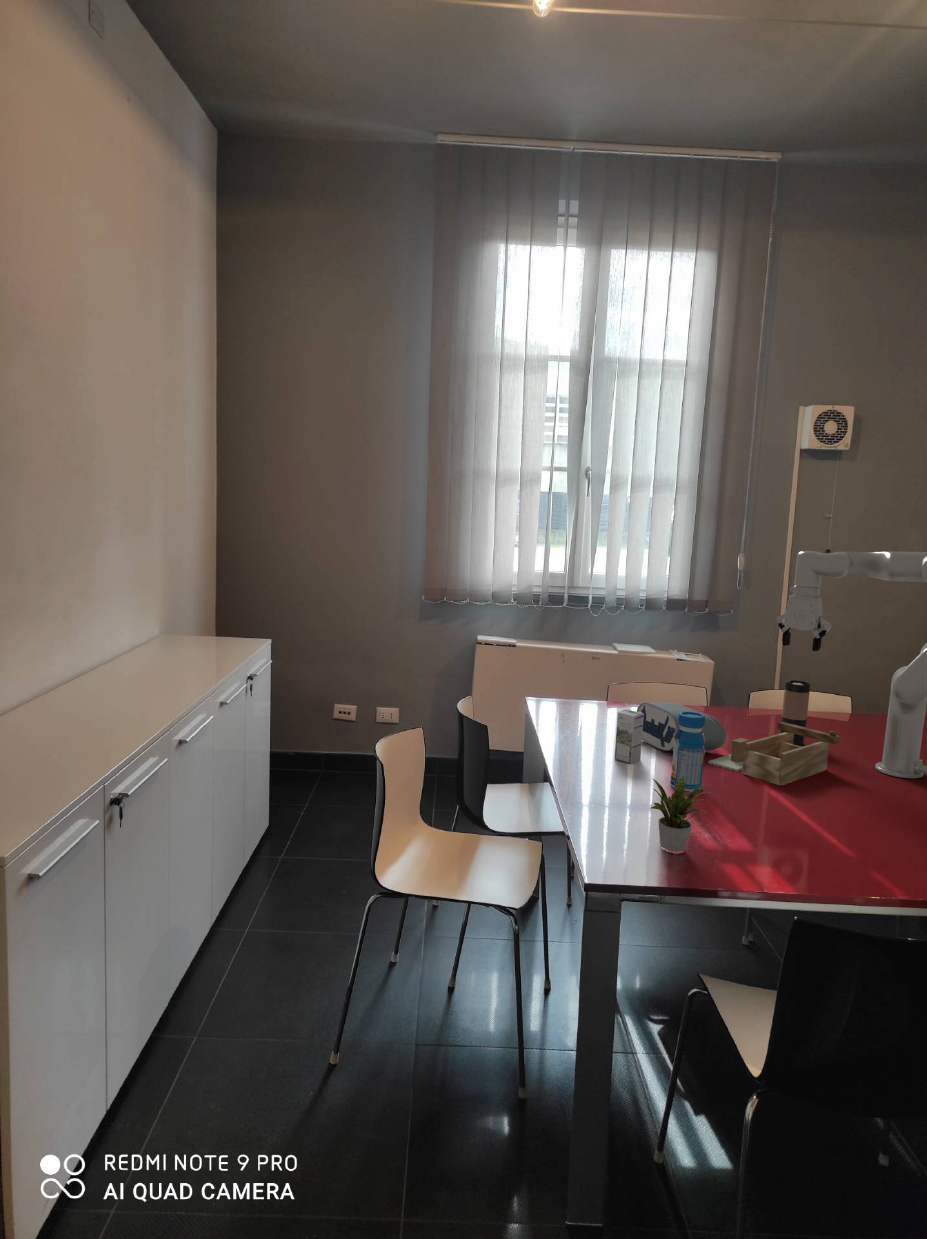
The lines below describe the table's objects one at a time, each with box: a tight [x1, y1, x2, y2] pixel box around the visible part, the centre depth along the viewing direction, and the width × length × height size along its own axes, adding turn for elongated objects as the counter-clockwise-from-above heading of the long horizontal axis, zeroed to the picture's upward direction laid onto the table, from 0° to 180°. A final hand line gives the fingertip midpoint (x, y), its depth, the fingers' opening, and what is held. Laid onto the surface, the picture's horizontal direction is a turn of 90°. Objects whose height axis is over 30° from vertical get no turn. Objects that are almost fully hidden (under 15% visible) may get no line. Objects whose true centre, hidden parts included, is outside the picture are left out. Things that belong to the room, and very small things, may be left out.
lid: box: [708, 737, 750, 773], centre depth 254 cm, size 9×18×7 cm, turn 132°
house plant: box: [649, 777, 713, 851], centre depth 185 cm, size 14×14×16 cm
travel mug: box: [779, 679, 811, 747], centre depth 276 cm, size 8×8×20 cm
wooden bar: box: [776, 721, 841, 745], centre depth 252 cm, size 18×2×3 cm, turn 40°
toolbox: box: [741, 732, 830, 786], centre depth 246 cm, size 12×25×9 cm, turn 130°
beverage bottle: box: [669, 712, 706, 792], centre depth 228 cm, size 8×8×20 cm
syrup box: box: [613, 708, 644, 765], centre depth 249 cm, size 6×6×14 cm
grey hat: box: [636, 702, 727, 752], centre depth 267 cm, size 22×19×13 cm
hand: (800, 648), depth 260 cm, fingers open, 9 cm apart
